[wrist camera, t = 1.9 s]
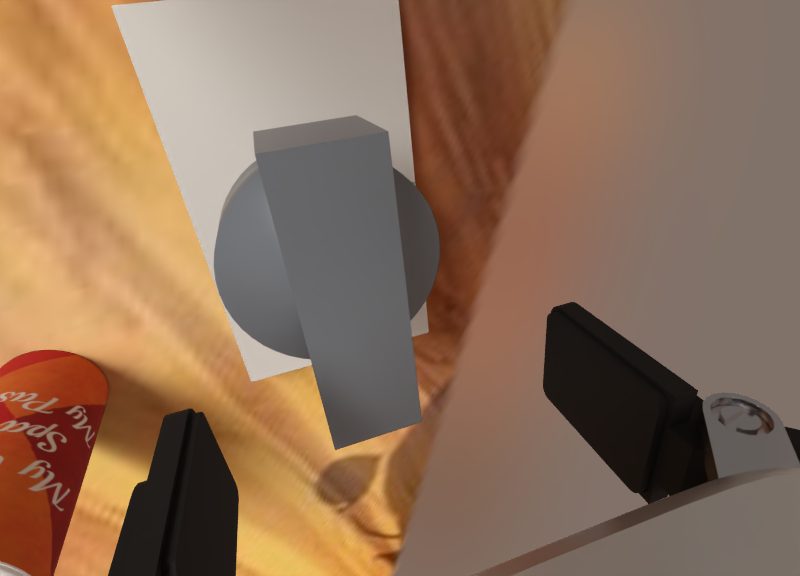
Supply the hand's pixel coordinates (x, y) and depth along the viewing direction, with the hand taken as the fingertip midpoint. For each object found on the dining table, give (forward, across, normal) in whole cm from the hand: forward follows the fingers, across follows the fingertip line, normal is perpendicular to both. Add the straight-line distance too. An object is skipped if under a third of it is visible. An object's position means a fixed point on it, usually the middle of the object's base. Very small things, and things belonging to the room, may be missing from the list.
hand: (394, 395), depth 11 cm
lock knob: (+10, 0, 0) cm, 10 cm away
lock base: (+17, 0, -1) cm, 17 cm away
